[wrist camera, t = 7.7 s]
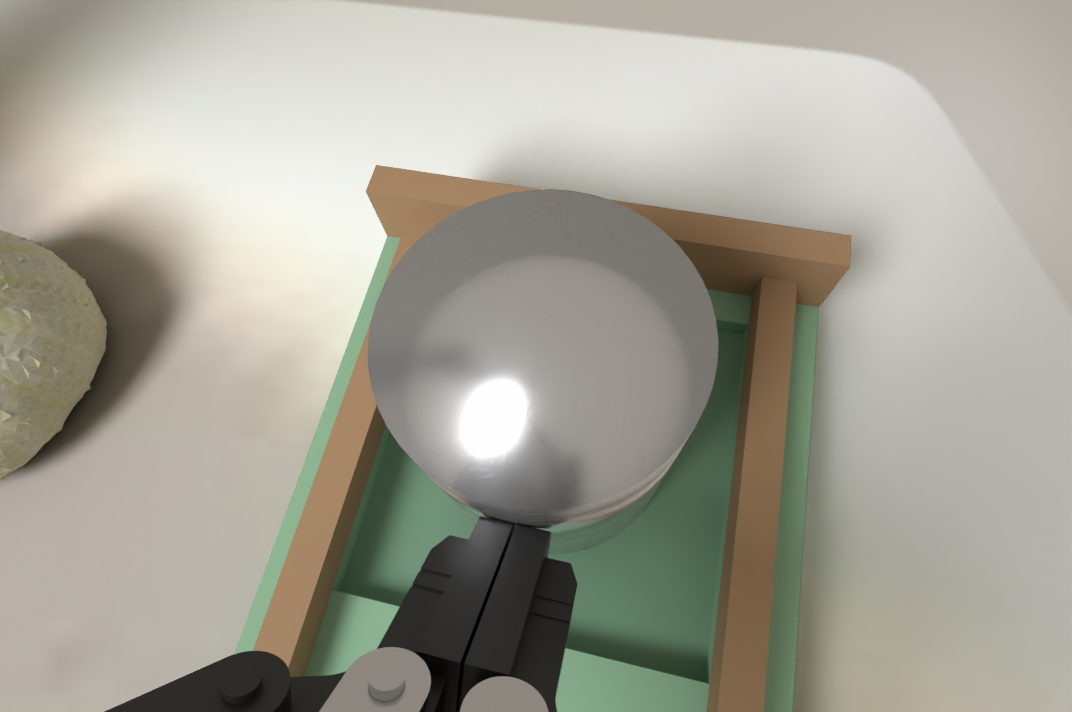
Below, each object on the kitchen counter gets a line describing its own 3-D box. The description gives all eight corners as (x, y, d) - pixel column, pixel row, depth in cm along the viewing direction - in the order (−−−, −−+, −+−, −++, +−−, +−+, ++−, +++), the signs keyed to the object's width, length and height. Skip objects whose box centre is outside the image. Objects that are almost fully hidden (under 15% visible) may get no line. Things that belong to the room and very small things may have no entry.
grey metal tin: (417, 527, 18) (319, 469, 11) (473, 322, 20) (421, 170, 14) (648, 577, 17) (697, 546, 10) (678, 356, 20) (733, 212, 13)
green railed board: (64, 1233, 14) (-144, 1483, 10) (410, 243, 23) (376, 165, 19) (707, 1507, 12) (774, 1958, 8) (799, 308, 22) (851, 235, 18)
